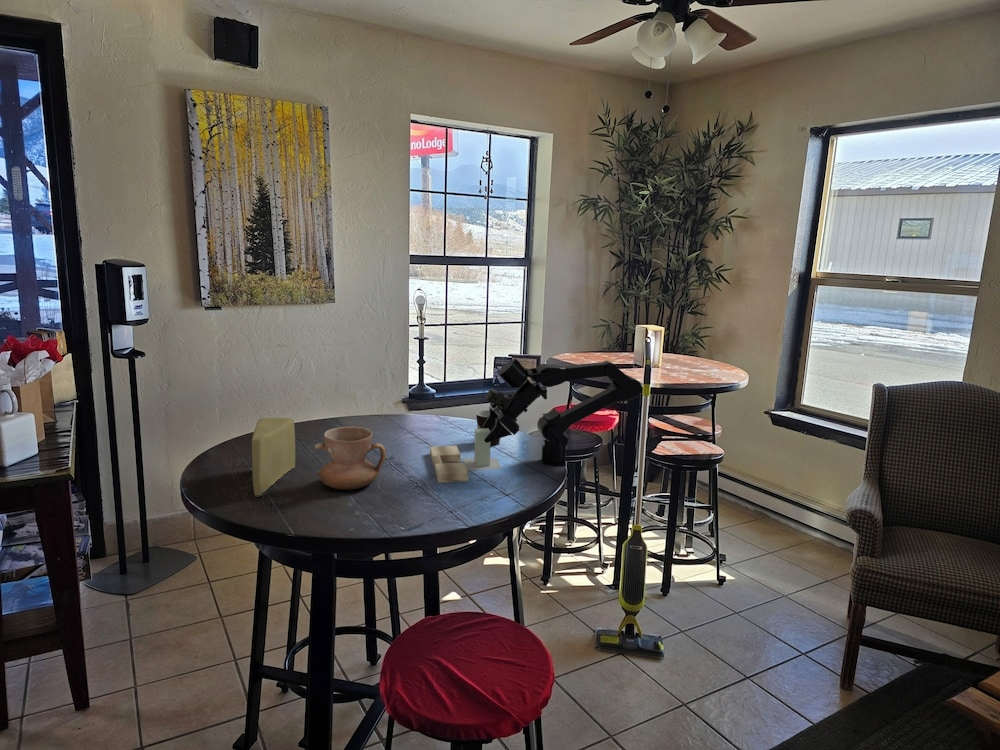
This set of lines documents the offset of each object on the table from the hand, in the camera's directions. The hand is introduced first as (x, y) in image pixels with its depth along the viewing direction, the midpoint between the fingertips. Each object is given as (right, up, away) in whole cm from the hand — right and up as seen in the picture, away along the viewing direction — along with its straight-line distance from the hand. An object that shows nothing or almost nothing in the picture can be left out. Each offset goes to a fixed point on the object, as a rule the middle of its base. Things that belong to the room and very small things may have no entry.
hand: (483, 436), depth 184 cm
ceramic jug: (-34, -11, -15) cm, 39 cm away
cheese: (-56, -11, -14) cm, 59 cm away
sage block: (0, -8, +2) cm, 8 cm away
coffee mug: (+2, -4, +23) cm, 23 cm away
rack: (-9, -9, -1) cm, 12 cm away
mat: (0, -8, +2) cm, 8 cm away
